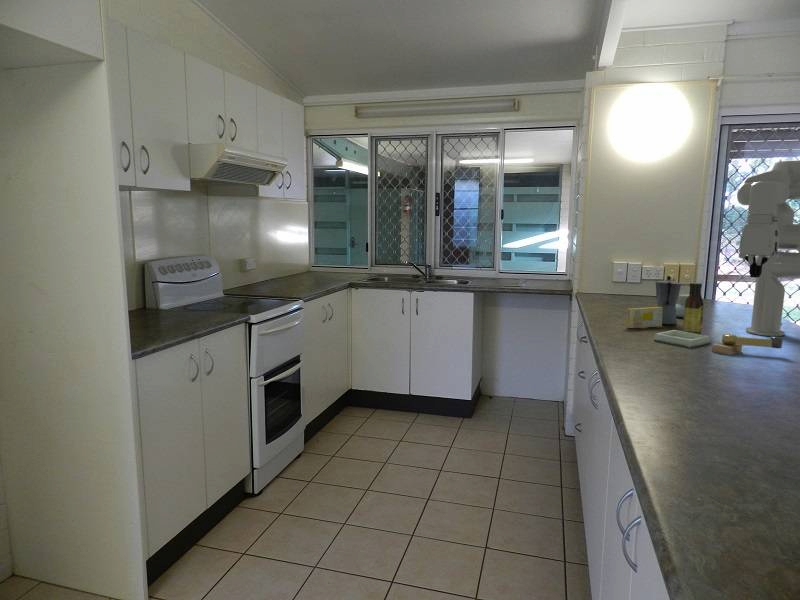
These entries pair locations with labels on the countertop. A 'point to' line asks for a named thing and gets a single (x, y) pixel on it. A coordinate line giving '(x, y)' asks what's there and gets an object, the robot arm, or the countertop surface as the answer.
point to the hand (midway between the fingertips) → (754, 276)
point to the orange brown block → (726, 348)
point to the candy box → (644, 317)
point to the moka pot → (667, 299)
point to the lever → (752, 341)
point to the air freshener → (681, 305)
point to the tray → (682, 338)
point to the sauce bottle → (693, 310)
